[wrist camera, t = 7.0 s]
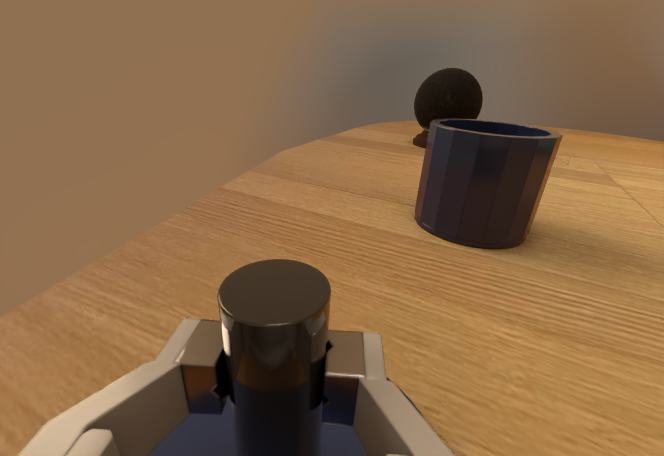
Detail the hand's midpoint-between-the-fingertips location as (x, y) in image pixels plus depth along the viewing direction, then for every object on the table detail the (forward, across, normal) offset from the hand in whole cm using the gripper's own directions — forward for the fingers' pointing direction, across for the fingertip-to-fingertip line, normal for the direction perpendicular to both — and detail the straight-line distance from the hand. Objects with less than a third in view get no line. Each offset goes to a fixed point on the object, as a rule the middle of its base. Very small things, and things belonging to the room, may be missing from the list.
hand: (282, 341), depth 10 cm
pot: (+24, -14, +6) cm, 29 cm away
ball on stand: (+66, -22, +6) cm, 69 cm away
